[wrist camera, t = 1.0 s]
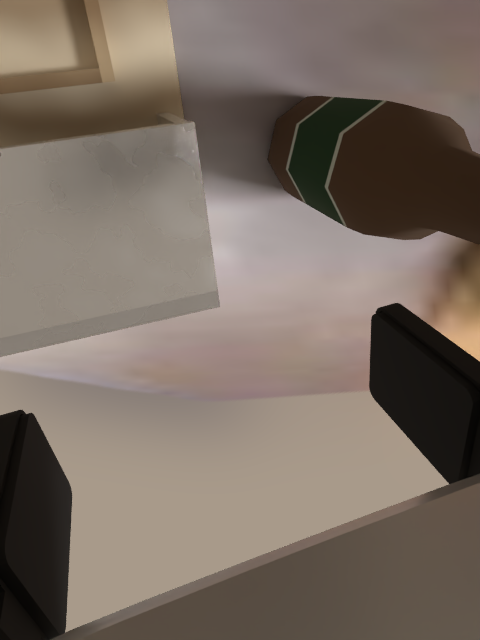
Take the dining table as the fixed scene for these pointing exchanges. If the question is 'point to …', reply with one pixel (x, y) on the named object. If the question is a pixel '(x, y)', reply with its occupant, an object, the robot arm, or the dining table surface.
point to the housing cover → (102, 234)
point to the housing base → (84, 68)
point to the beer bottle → (379, 167)
